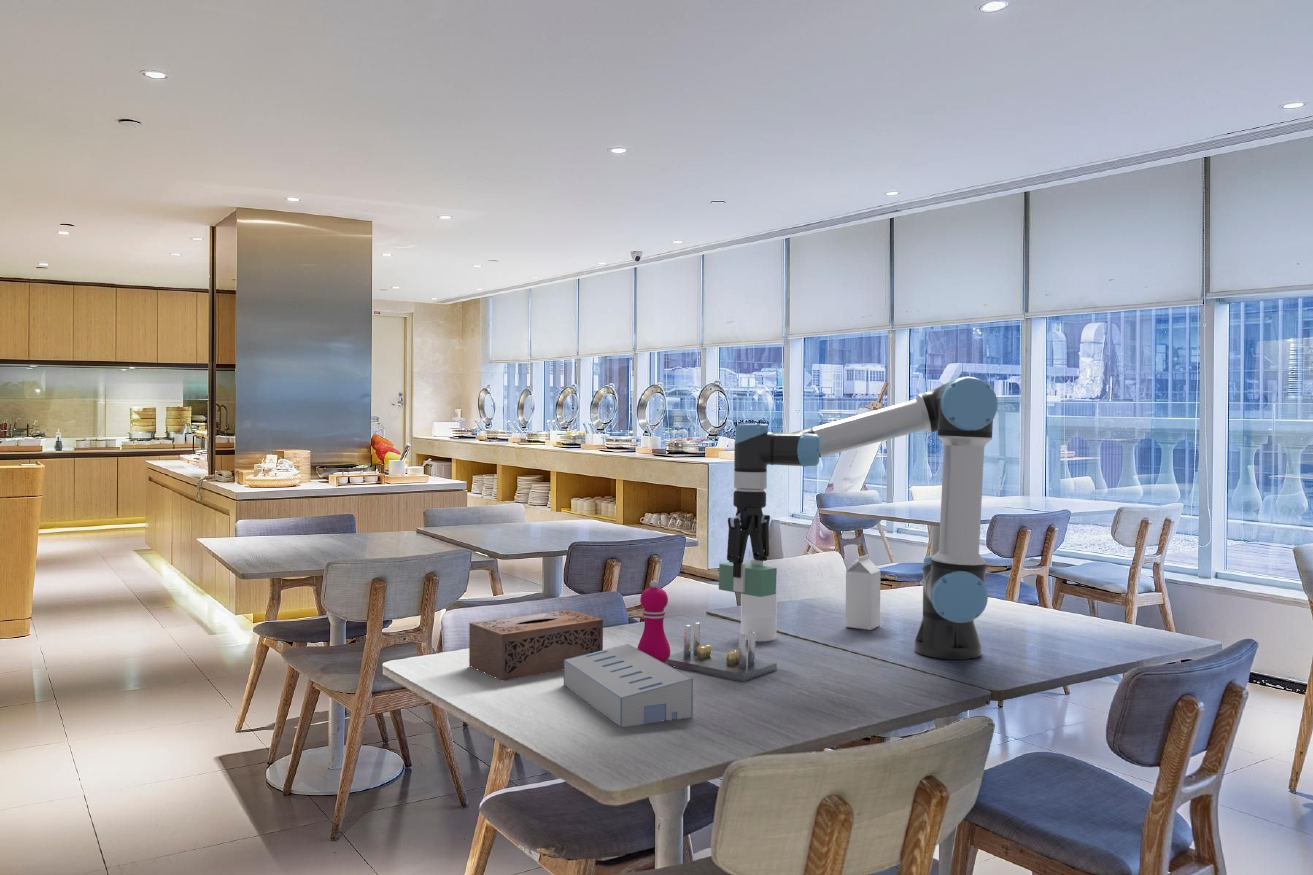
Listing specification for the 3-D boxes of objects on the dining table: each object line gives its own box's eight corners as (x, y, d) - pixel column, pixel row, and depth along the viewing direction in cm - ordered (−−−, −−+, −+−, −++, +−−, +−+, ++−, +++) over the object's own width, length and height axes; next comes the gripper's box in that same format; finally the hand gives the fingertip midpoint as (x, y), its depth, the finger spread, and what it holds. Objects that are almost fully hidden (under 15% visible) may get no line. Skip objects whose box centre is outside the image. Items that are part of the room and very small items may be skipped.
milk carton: (880, 626, 259) (880, 555, 259) (870, 630, 253) (871, 558, 253) (854, 622, 263) (855, 553, 263) (845, 627, 257) (845, 556, 257)
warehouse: (563, 687, 199) (563, 650, 199) (627, 679, 205) (628, 643, 205) (620, 729, 172) (620, 687, 171) (692, 719, 178) (692, 678, 178)
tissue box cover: (567, 651, 229) (567, 609, 229) (602, 663, 218) (602, 619, 217) (469, 668, 213) (469, 622, 213) (501, 682, 202) (501, 634, 202)
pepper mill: (646, 678, 204) (646, 583, 204) (631, 670, 211) (631, 578, 211) (676, 674, 208) (676, 581, 208) (660, 666, 214) (661, 576, 214)
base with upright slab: (776, 633, 249) (776, 587, 248) (776, 641, 240) (777, 593, 239) (740, 632, 249) (741, 586, 249) (740, 640, 241) (740, 592, 240)
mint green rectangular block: (775, 593, 222) (776, 567, 222) (760, 596, 218) (761, 570, 218) (734, 586, 230) (735, 561, 230) (718, 589, 226) (719, 563, 226)
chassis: (776, 669, 212) (777, 631, 212) (743, 681, 202) (743, 641, 202) (696, 653, 226) (697, 617, 226) (661, 664, 216) (662, 626, 216)
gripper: (760, 487, 233) (758, 583, 233) (711, 490, 219) (709, 592, 219) (786, 489, 228) (784, 587, 228) (738, 492, 214) (736, 597, 214)
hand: (747, 589), depth 224 cm, fingers closed on mint green rectangular block, 6 cm apart
